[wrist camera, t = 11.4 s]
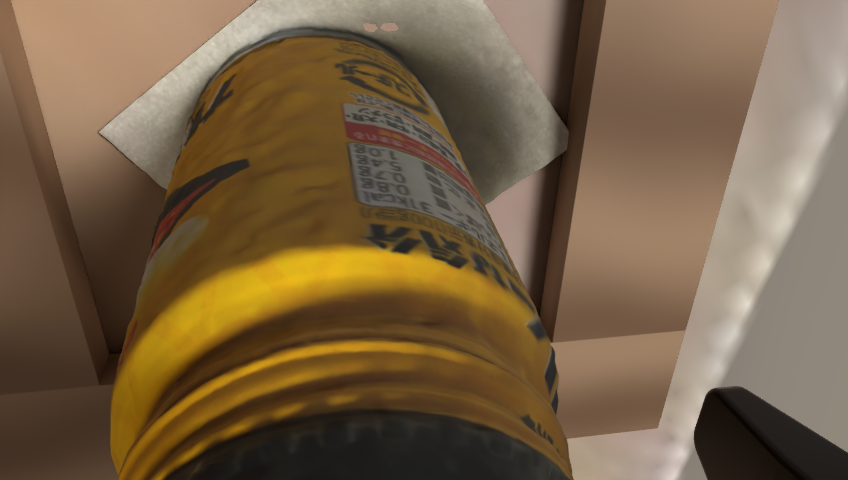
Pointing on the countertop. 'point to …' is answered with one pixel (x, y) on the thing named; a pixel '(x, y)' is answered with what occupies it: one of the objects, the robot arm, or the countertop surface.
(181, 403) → the condiment
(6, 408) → the brown frame
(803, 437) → the robot arm
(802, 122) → the countertop surface
